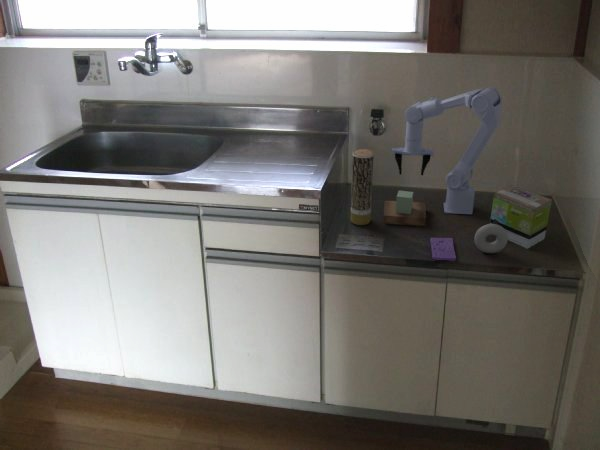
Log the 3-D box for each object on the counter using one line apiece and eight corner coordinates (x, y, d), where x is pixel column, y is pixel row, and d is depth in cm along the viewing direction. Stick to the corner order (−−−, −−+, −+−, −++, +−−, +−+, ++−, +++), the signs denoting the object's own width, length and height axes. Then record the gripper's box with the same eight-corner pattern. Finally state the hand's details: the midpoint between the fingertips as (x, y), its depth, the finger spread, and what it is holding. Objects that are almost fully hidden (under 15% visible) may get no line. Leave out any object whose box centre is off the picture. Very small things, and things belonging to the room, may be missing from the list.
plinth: (424, 210, 226) (424, 202, 225) (425, 225, 216) (425, 217, 214) (384, 208, 228) (384, 200, 227) (383, 223, 217) (383, 215, 216)
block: (412, 207, 221) (413, 192, 218) (410, 214, 217) (411, 198, 214) (397, 206, 222) (398, 190, 220) (395, 212, 218) (396, 196, 215)
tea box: (487, 233, 211) (493, 192, 204) (505, 223, 216) (511, 183, 210) (527, 250, 200) (535, 207, 194) (545, 239, 206) (553, 198, 199)
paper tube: (373, 219, 220) (376, 150, 209) (366, 227, 215) (369, 157, 203) (354, 215, 223) (356, 147, 211) (347, 223, 217) (349, 154, 206)
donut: (473, 254, 198) (476, 225, 194) (472, 249, 201) (475, 220, 197) (506, 256, 197) (511, 227, 192) (504, 250, 200) (509, 222, 195)
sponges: (451, 243, 206) (452, 238, 205) (455, 263, 195) (456, 257, 194) (429, 242, 207) (430, 237, 206) (432, 262, 196) (432, 256, 195)
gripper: (434, 135, 228) (431, 170, 234) (393, 133, 229) (391, 168, 236) (435, 141, 221) (431, 178, 228) (392, 140, 223) (390, 176, 229)
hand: (411, 173), depth 231 cm, fingers open, 7 cm apart
